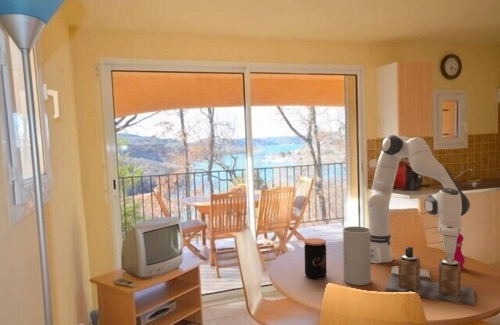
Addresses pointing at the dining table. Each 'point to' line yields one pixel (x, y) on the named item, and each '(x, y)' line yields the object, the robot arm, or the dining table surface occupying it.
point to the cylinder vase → (357, 255)
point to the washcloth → (423, 273)
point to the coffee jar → (315, 258)
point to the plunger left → (409, 254)
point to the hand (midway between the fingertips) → (449, 258)
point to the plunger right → (449, 262)
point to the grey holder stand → (432, 283)
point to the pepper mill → (459, 251)
